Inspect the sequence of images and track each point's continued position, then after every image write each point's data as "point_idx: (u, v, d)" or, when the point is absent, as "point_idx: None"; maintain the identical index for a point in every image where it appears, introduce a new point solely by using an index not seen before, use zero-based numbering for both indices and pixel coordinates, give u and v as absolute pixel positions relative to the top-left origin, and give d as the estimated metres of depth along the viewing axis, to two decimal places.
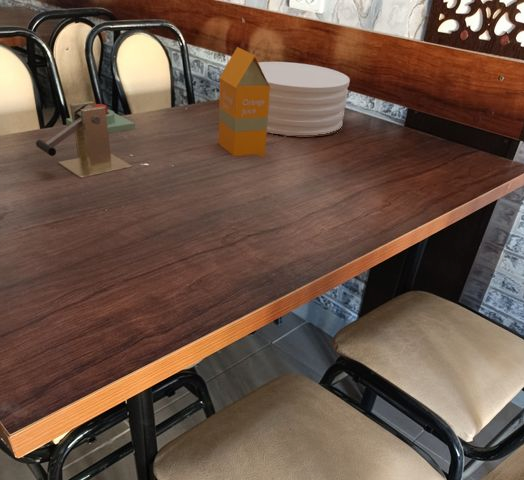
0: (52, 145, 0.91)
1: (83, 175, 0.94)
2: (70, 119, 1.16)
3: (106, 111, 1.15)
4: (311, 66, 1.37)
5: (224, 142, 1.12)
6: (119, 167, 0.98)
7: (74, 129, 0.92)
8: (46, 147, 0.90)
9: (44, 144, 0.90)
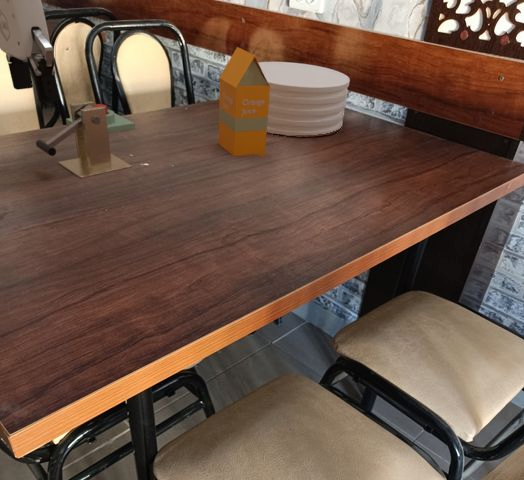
0: (52, 145, 0.91)
1: (83, 175, 0.94)
2: (70, 119, 1.16)
3: (106, 111, 1.15)
4: (311, 66, 1.37)
5: (224, 142, 1.12)
6: (119, 167, 0.98)
7: (74, 129, 0.92)
8: (46, 147, 0.90)
9: (44, 144, 0.90)
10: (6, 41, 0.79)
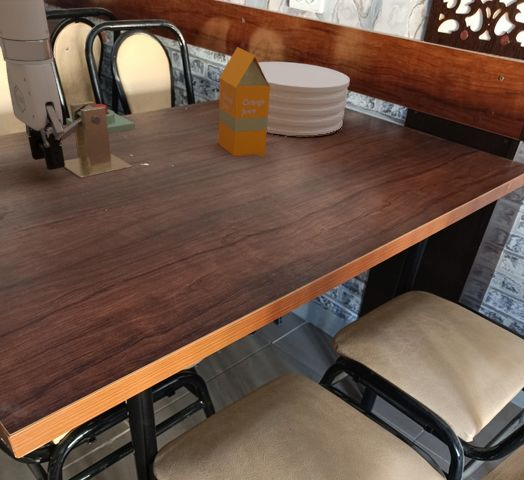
0: None
1: (83, 175, 0.94)
2: (70, 119, 1.16)
3: (106, 111, 1.15)
4: (311, 66, 1.37)
5: (224, 142, 1.12)
6: (119, 167, 0.98)
7: (74, 129, 0.92)
8: None
9: None
10: (21, 112, 0.86)
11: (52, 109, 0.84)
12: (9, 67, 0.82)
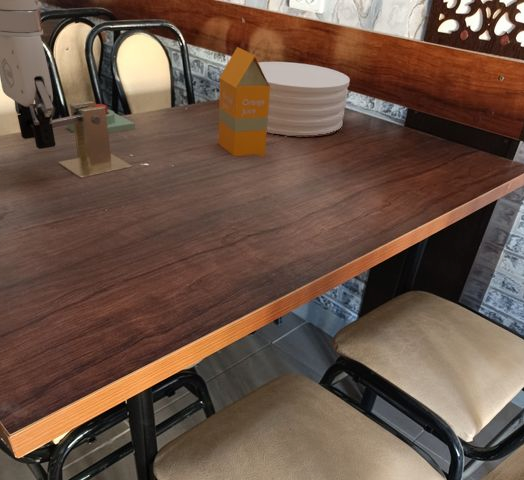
0: None
1: (83, 175, 0.94)
2: None
3: (106, 111, 1.15)
4: (311, 66, 1.37)
5: (224, 142, 1.12)
6: (119, 167, 0.98)
7: (71, 121, 0.91)
8: None
9: None
10: (10, 87, 0.83)
11: (41, 84, 0.81)
12: None
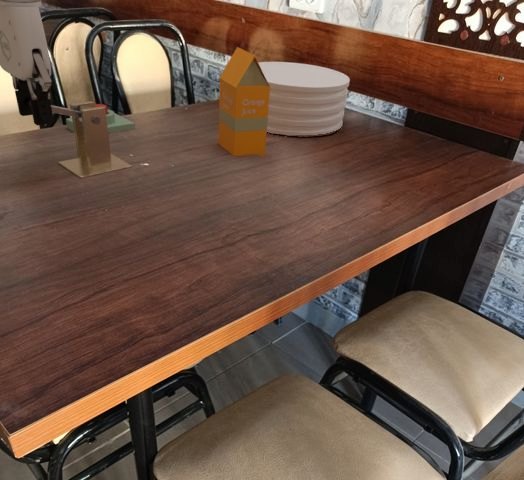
0: None
1: (83, 175, 0.94)
2: (70, 119, 1.16)
3: (106, 111, 1.15)
4: (311, 66, 1.37)
5: (224, 142, 1.12)
6: (119, 167, 0.98)
7: (70, 113, 0.90)
8: None
9: None
10: (7, 61, 0.80)
11: (39, 57, 0.78)
12: None
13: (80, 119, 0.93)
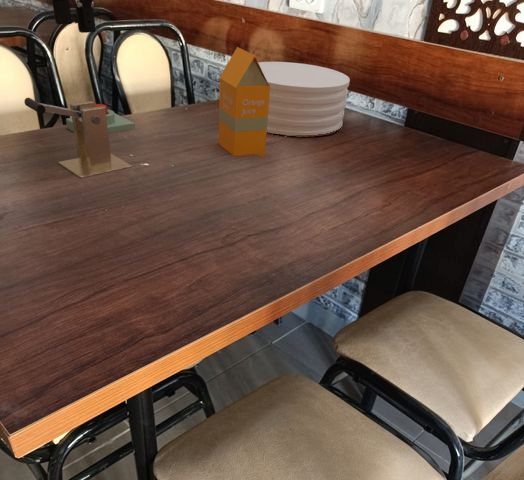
0: None
1: (83, 175, 0.94)
2: (70, 119, 1.16)
3: (106, 111, 1.15)
4: (311, 66, 1.37)
5: (224, 142, 1.12)
6: (119, 167, 0.98)
7: (70, 113, 0.90)
8: (37, 103, 0.85)
9: None
10: None
11: None
12: None
13: (80, 119, 0.93)
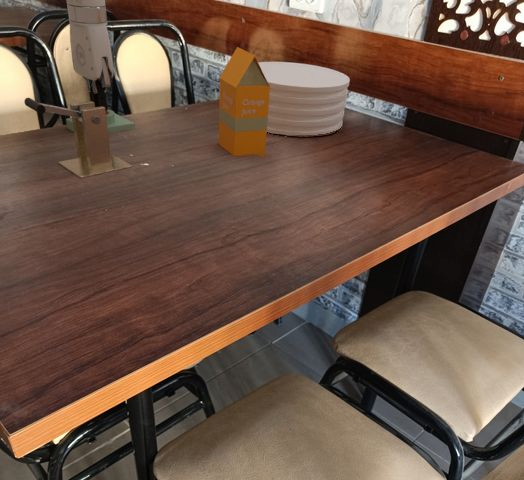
0: None
1: (83, 175, 0.94)
2: (70, 119, 1.16)
3: None
4: (311, 66, 1.37)
5: (224, 142, 1.12)
6: (119, 167, 0.98)
7: (70, 113, 0.90)
8: (37, 103, 0.85)
9: None
10: (81, 66, 1.08)
11: (105, 65, 1.07)
12: (73, 29, 1.05)
13: (80, 119, 0.93)
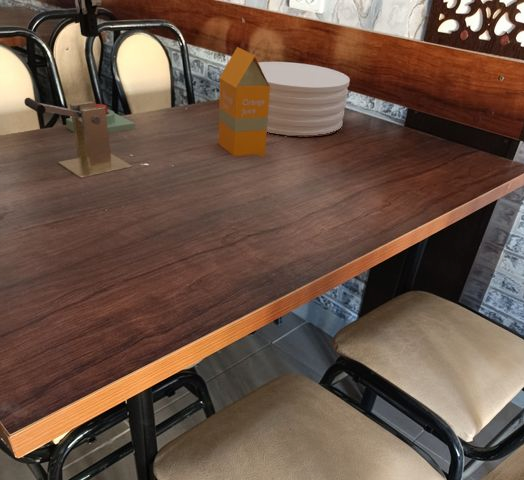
0: None
1: (83, 175, 0.94)
2: (70, 119, 1.16)
3: (106, 111, 1.15)
4: (311, 66, 1.37)
5: (224, 142, 1.12)
6: (119, 167, 0.98)
7: (70, 113, 0.90)
8: (37, 103, 0.85)
9: None
10: None
11: None
12: None
13: (80, 119, 0.93)
